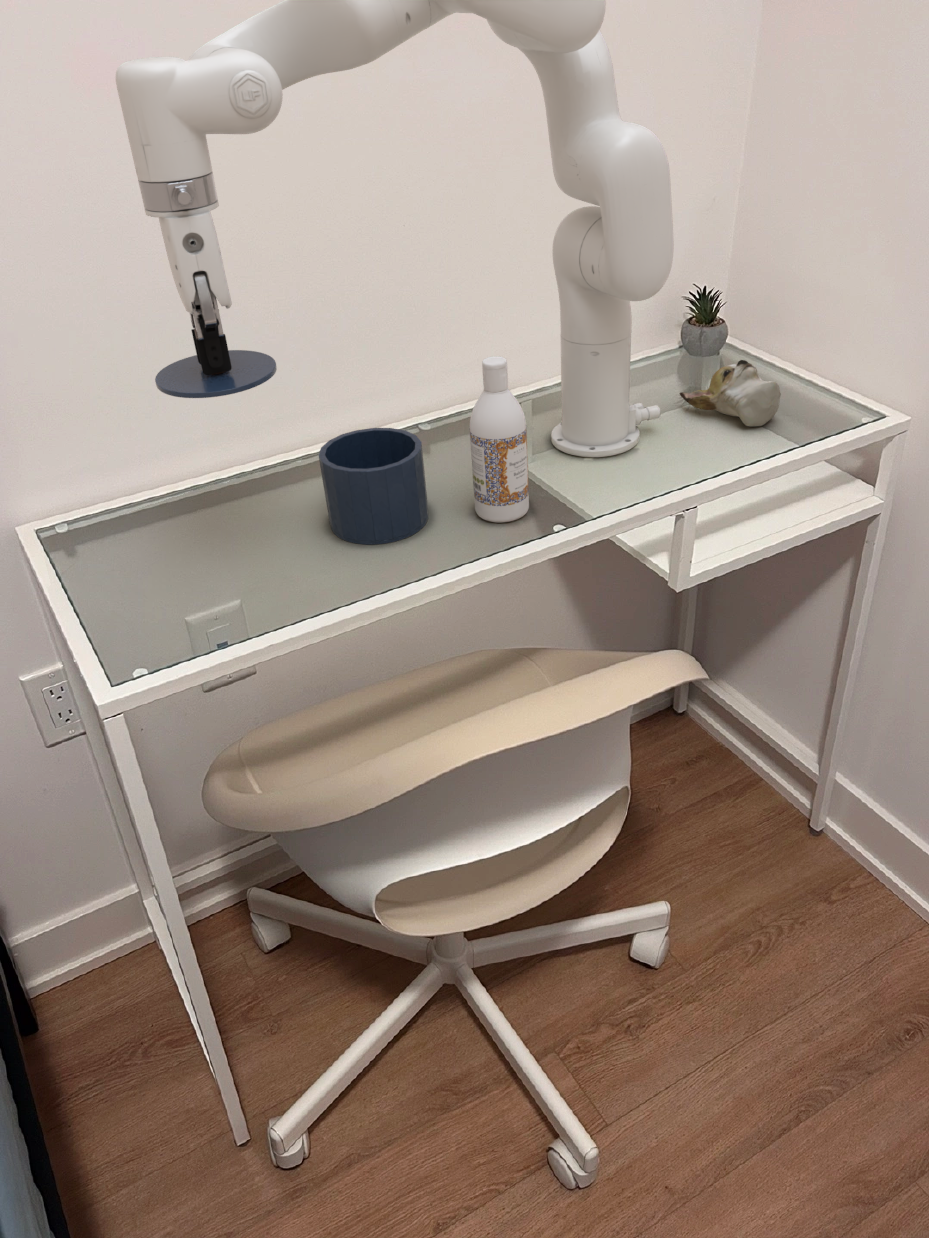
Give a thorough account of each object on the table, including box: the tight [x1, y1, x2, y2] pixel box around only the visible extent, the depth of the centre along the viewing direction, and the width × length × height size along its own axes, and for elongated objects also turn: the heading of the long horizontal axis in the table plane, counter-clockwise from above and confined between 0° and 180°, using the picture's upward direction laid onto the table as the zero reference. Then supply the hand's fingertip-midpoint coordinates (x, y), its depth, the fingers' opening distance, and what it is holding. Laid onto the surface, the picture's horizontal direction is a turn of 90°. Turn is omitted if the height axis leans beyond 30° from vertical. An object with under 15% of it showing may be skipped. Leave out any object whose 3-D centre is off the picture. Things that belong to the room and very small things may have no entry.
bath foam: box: [469, 355, 530, 523], centre depth 123 cm, size 7×7×20 cm
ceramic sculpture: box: [679, 359, 782, 427], centre depth 147 cm, size 11×9×15 cm
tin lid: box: [154, 327, 278, 399], centre depth 113 cm, size 14×14×6 cm
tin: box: [318, 427, 429, 546], centre depth 126 cm, size 13×13×10 cm
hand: (215, 365), depth 114 cm, fingers closed on tin lid, 2 cm apart
